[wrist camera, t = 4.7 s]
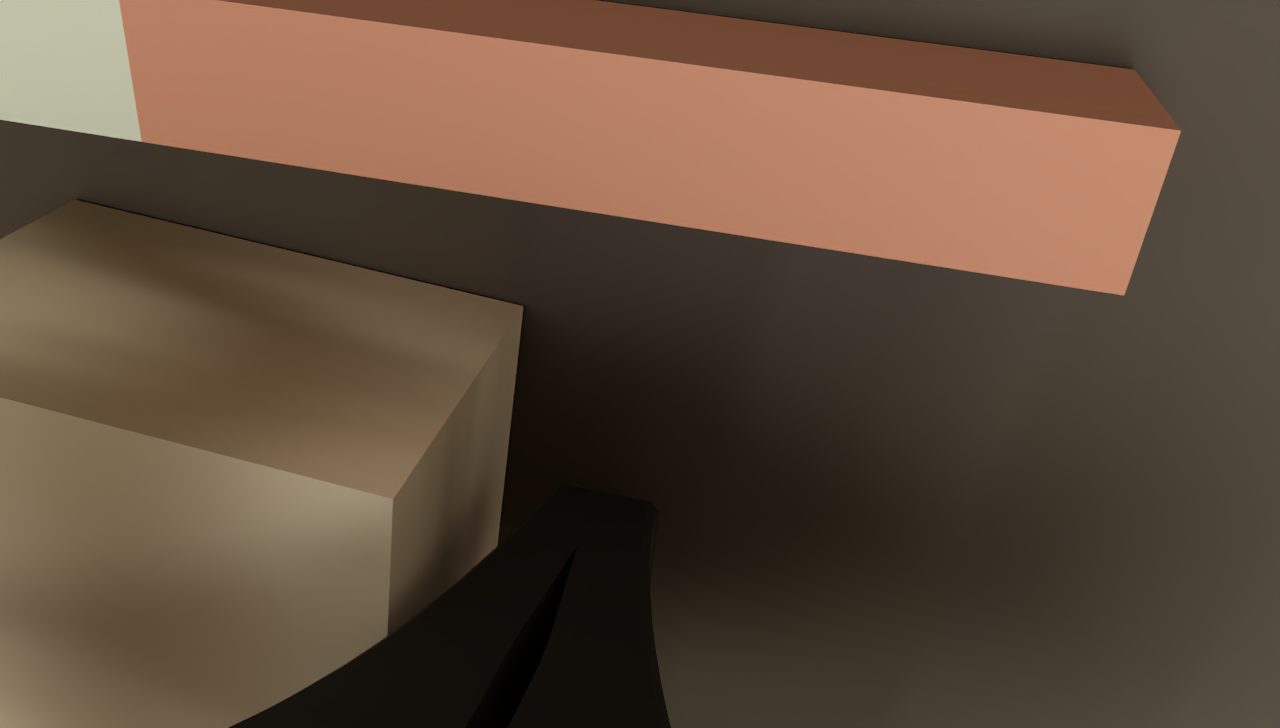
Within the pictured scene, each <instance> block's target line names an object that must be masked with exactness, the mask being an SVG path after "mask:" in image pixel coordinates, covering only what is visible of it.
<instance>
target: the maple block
mask: <svg viewBox="0 0 1280 728" xmlns="http://www.w3.org/2000/svg"><path fill="white" fill-rule="evenodd" d="M523 307H524V306H521V305H516V304H512V303H508V302H504V301H500V300H495V299H491V298H487V297H483V296H479V295H474V294H470V293H466V292H462V291H457V290H453V289H449V288H445V287H441V286H436V285H432V284H428V283H424V282H420V281H415V280H411V279H407V278H403V277H399V276H394V275H390V274H386V273H382V272H378V271H373V270H369V269H365V268H361V267H356V266H352V265H348V264H344V263H340V262H335V261H331V260H327V259H323V258H319V257H314V256H310V255H306V254H302V253H298V252H293V251H289V250H285V249H281V248H277V247H272V246H268V245H264V244H260V243H256V242H251V241H247V240H243V239H239V238H234V237H230V236H226V235H222V234H218V233H213V232H209V231H205V230H201V229H197V228H192V227H188V226H184V225H180V224H176V223H171V222H167V221H163V220H159V219H155V218H150V217H146V216H142V215H138V214H133V213H129V212H125V211H121V210H117V209H112V208H108V207H104V206H100V205H96V204H91V203H87V202H83V201H79V200H75V199H74V200H72V201H70V202H68V203H67V204H65V205H63V206H61V207H59V208H57V209H55V210H54V211H52V212H50V213H48V214H46V215H44V216H43V217H41V218H39V219H37V220H35V221H33V222H31V223H30V224H28V225H26V226H24V227H22V228H20V229H18V230H17V231H15V232H13V233H11V234H9V235H7V236H5V237H4V238H2V239H0V728H228V727H230V726H233V725H235V724H237V723H239V722H241V721H243V720H245V719H247V718H249V717H251V716H253V715H256V714H258V713H260V712H262V711H264V710H266V709H268V708H270V707H272V706H273V705H275V704H277V703H279V702H281V701H283V700H285V699H286V698H288V697H290V696H292V695H294V694H296V693H297V692H299V691H301V690H302V689H304V688H306V687H308V686H309V685H311V684H313V683H314V682H316V681H318V680H319V679H321V678H323V677H325V676H326V675H328V674H330V673H331V672H333V671H335V670H336V669H338V668H340V667H341V666H343V665H345V664H346V663H348V662H349V661H351V660H352V659H354V658H355V657H357V656H358V655H360V654H361V653H363V652H365V651H366V650H368V649H369V648H371V647H372V646H374V645H375V644H377V643H378V642H379V641H381V640H382V639H384V638H385V637H387V636H388V635H389V634H391V633H392V632H394V631H395V630H396V629H398V628H399V627H400V626H402V625H403V624H405V623H406V622H407V621H409V620H410V619H411V618H413V617H414V616H415V615H416V614H418V613H419V612H420V611H421V610H423V609H424V608H425V607H426V606H428V605H429V604H430V603H431V602H433V601H434V600H435V599H437V598H438V597H439V596H440V595H442V594H443V593H444V592H445V591H447V590H448V589H449V588H450V587H452V586H453V585H454V584H455V583H456V582H458V581H459V580H460V579H461V578H462V577H463V576H465V575H466V574H467V573H468V572H469V571H470V570H471V569H472V568H473V567H475V566H476V565H477V564H478V563H479V562H480V561H481V560H482V559H484V558H485V557H486V556H487V555H488V554H489V553H490V552H491V551H492V550H494V549H495V548H496V547H497V545H498V536H499V527H500V518H501V509H502V500H503V490H504V481H505V472H506V463H507V454H508V444H509V435H510V426H511V417H512V408H513V398H514V389H515V380H516V371H517V362H518V353H519V343H520V334H521V325H522V316H523Z"/></svg>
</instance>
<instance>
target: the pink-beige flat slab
mask: <svg viewBox="0 0 1280 728" xmlns="http://www.w3.org/2000/svg"><path fill="white" fill-rule="evenodd" d="M0 120H6V121H12V122H19V123H25V124H31V125H38V126H44V127H51V128H57V129H63V130H70V131H76V132H83V133H89V134H95V135H102V136H108V137H115V138H121V139H127V140H134V141H140V142H147V143H153V144H159V145H166V146H172V147H178V148H185V149H191V150H198V151H204V152H210V153H217V154H223V155H230V156H236V157H242V158H249V159H255V160H262V161H268V162H274V163H281V164H287V165H293V166H300V167H306V168H313V169H319V170H325V171H332V172H338V173H345V174H351V175H357V176H364V177H370V178H377V179H383V180H389V181H396V182H402V183H408V184H415V185H421V186H428V187H434V188H440V189H447V190H453V191H460V192H466V193H472V194H479V195H485V196H492V197H498V198H504V199H511V200H517V201H524V202H530V203H536V204H543V205H549V206H555V207H562V208H568V209H575V210H581V211H587V212H594V213H600V214H607V215H613V216H619V217H626V218H632V219H639V220H645V221H651V222H658V223H664V224H670V225H677V226H683V227H690V228H696V229H702V230H709V231H715V232H722V233H728V234H734V235H741V236H747V237H754V238H760V239H766V240H773V241H779V242H786V243H792V244H798V245H805V246H811V247H817V248H824V249H830V250H837V251H843V252H849V253H856V254H862V255H869V256H875V257H881V258H888V259H894V260H901V261H907V262H913V263H920V264H926V265H932V266H939V267H945V268H952V269H958V270H964V271H971V272H977V273H984V274H990V275H996V276H1003V277H1009V278H1016V279H1022V280H1028V281H1035V282H1041V283H1048V284H1054V285H1060V286H1067V287H1073V288H1079V289H1086V290H1092V291H1099V292H1105V293H1111V294H1118V295H1125V292H1126V289H1127V286H1128V283H1129V280H1130V277H1131V275H1132V272H1133V269H1134V266H1135V263H1136V260H1137V257H1138V254H1139V251H1140V248H1141V246H1142V243H1143V240H1144V237H1145V234H1146V231H1147V228H1148V225H1149V222H1150V219H1151V217H1152V214H1153V211H1154V208H1155V205H1156V202H1157V199H1158V196H1159V193H1160V190H1161V188H1162V185H1163V182H1164V179H1165V176H1166V173H1167V170H1168V167H1169V164H1170V162H1171V159H1172V156H1173V153H1174V150H1175V147H1176V144H1177V141H1178V138H1179V135H1180V133H1181V130H1180V129H1179V127H1178V126H1177V125H1176V123H1175V122H1174V121H1173V119H1172V118H1171V117H1170V116H1169V114H1168V113H1167V112H1166V110H1165V109H1164V108H1163V106H1162V105H1161V104H1160V102H1159V101H1158V100H1157V98H1156V97H1155V96H1154V94H1153V93H1152V92H1151V90H1150V89H1149V88H1148V87H1147V85H1146V84H1145V83H1144V81H1143V80H1142V79H1141V77H1140V76H1139V75H1138V73H1137V72H1136V71H1135V70H1134V69H1127V68H1119V67H1111V66H1103V65H1095V64H1088V63H1080V62H1072V61H1064V60H1057V59H1049V58H1041V57H1033V56H1026V55H1018V54H1010V53H1002V52H994V51H987V50H979V49H971V48H963V47H956V46H948V45H940V44H932V43H924V42H917V41H909V40H901V39H893V38H886V37H878V36H870V35H862V34H855V33H847V32H839V31H831V30H823V29H816V28H808V27H800V26H792V25H785V24H777V23H769V22H761V21H754V20H746V19H738V18H730V17H722V16H715V15H707V14H699V13H691V12H684V11H676V10H668V9H660V8H653V7H645V6H637V5H629V4H621V3H614V2H606V1H598V0H0Z"/></svg>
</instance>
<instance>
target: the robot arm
mask: <svg viewBox="0 0 1280 728" xmlns="http://www.w3.org/2000/svg"><path fill="white" fill-rule="evenodd" d="M658 512H659V511H658V510H657V509H656V507H655V506H654V505H653V504H652V502H650V501H645V500H639V499H634V498H629V497H624V496H619V495H614V494H608V493H603V492H598V491H593V490H588V489H583V488H577V487H572V486H567V485H561V486H559V487H557V488H556V489H554V490H553V491H552V492H551V493H550V494H549V495H548V496H547V497H546V498H545V499H544V500H543V501H542V502H541V503H540V505H539V506H538V507H537V508H536V509H535V510H534V511H533V512H532V513H531V514H530V515H529V516H528V517H527V518H526V519H525V520H524V521H523V522H522V523H521V524H520V525H519V526H518V527H517V528H516V529H515V530H514V531H513V532H512V533H511V534H510V535H508V536H507V537H506V538H505V539H504V540H503V541H502V542H501V543H500V544H499V545H498V546H497V547H496V548H495V549H494V550H492V551H491V552H490V553H489V554H488V555H487V556H486V557H485V558H484V559H482V560H481V561H480V562H479V563H478V564H477V565H476V566H475V567H473V568H472V569H471V570H470V571H469V572H468V573H467V574H466V575H465V576H463V577H462V578H461V579H460V580H459V581H458V582H456V583H455V584H454V585H453V586H452V587H450V588H449V589H448V590H447V591H445V592H444V593H443V594H442V595H440V596H439V597H438V598H437V599H435V600H434V601H433V602H431V603H430V604H429V605H428V606H426V607H425V608H424V609H423V610H421V611H420V612H419V613H418V614H416V615H415V616H414V617H413V618H411V619H410V620H409V621H407V622H406V623H405V624H403V625H402V626H400V627H399V628H398V629H396V630H395V631H394V632H392V633H391V634H389V635H388V636H387V637H385V638H384V639H382V640H381V641H379V642H378V643H377V644H375V645H374V646H372V647H371V648H369V649H368V650H366V651H365V652H363V653H361V654H360V655H358V656H357V657H355V658H354V659H352V660H351V661H349V662H348V663H346V664H345V665H343V666H341V667H340V668H338V669H336V670H335V671H333V672H331V673H330V674H328V675H326V676H325V677H323V678H321V679H319V680H318V681H316V682H314V683H313V684H311V685H309V686H308V687H306V688H304V689H302V690H301V691H299V692H297V693H296V694H294V695H292V696H290V697H288V698H286V699H285V700H283V701H281V702H279V703H277V704H275V705H273V706H272V707H270V708H268V709H266V710H264V711H262V712H260V713H258V714H256V715H253V716H251V717H249V718H247V719H245V720H243V721H241V722H239V723H237V724H235V725H233V726H230V727H228V728H671V726H670V722H669V718H668V714H667V710H666V705H665V700H664V696H663V691H662V685H661V680H660V674H659V668H658V662H657V656H656V650H655V642H654V634H653V625H652V613H651V601H650V583H651V574H652V565H653V556H654V547H655V538H656V530H657V521H658Z"/></svg>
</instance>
